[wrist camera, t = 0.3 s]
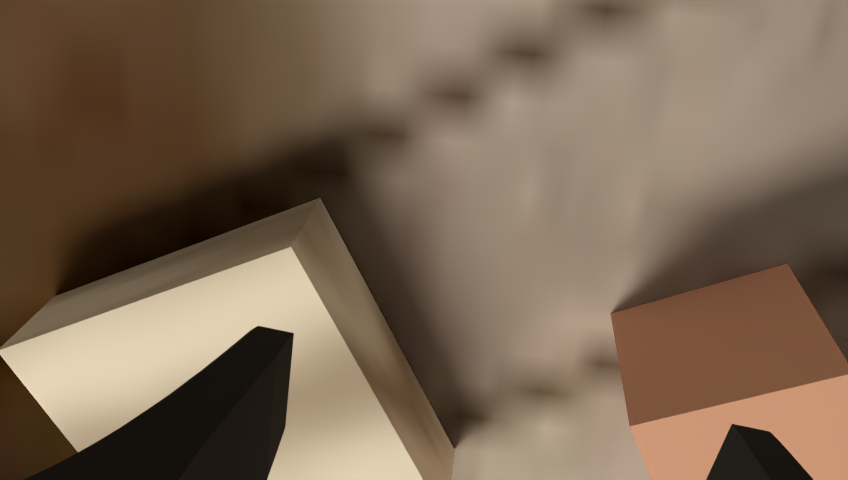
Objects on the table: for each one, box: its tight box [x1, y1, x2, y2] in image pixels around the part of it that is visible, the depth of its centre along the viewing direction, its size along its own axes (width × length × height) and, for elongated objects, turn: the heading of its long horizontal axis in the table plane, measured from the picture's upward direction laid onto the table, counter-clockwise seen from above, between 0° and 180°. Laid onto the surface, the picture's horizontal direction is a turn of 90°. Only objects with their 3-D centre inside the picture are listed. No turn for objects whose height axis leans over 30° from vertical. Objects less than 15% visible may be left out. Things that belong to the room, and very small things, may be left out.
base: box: [0, 198, 455, 480], centre depth 24 cm, size 10×10×3 cm
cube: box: [611, 264, 848, 480], centre depth 20 cm, size 5×5×5 cm
